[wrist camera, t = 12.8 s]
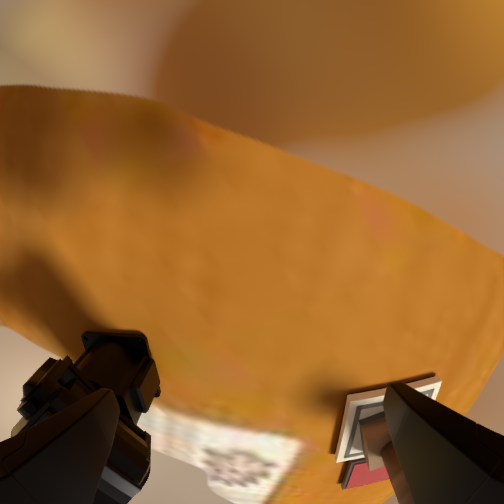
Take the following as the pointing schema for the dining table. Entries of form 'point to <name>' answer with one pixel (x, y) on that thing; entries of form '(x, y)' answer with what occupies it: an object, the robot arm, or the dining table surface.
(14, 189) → the dining table surface
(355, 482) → the ink pad
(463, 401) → the dining table surface
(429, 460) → the robot arm
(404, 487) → the stamp
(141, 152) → the dining table surface
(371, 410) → the marked board
